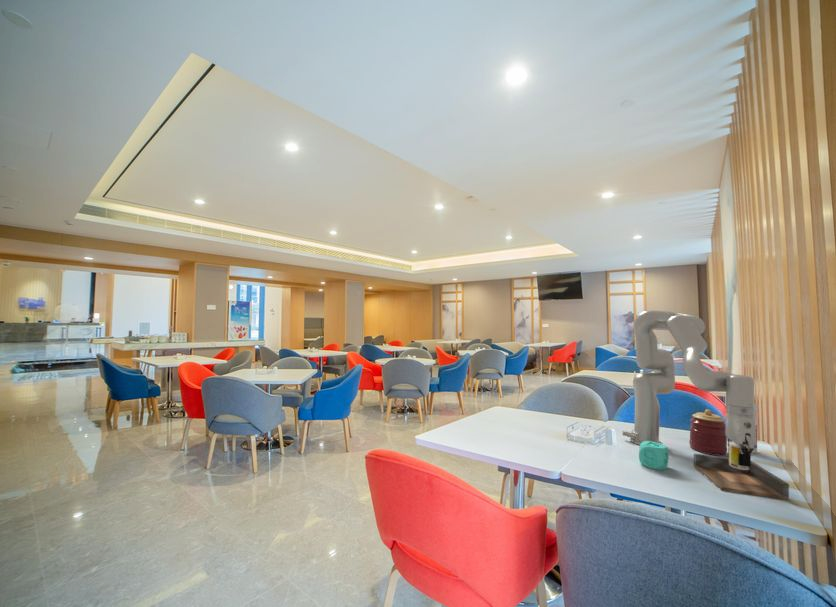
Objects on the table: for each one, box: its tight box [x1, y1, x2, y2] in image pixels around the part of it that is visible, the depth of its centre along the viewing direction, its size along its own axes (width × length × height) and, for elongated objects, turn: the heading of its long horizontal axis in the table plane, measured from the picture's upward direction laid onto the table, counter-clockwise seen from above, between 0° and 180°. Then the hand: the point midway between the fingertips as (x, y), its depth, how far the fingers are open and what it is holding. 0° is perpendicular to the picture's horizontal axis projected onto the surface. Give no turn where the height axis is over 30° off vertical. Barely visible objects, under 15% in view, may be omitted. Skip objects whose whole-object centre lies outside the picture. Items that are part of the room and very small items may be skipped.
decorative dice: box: [638, 441, 669, 471], centre depth 139 cm, size 8×8×8 cm
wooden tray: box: [693, 453, 790, 501], centre depth 128 cm, size 18×20×5 cm
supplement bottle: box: [729, 441, 750, 470], centre depth 129 cm, size 6×6×10 cm
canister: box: [689, 408, 728, 456], centre depth 160 cm, size 13×13×18 cm
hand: (739, 461), depth 129 cm, fingers closed on supplement bottle, 5 cm apart
